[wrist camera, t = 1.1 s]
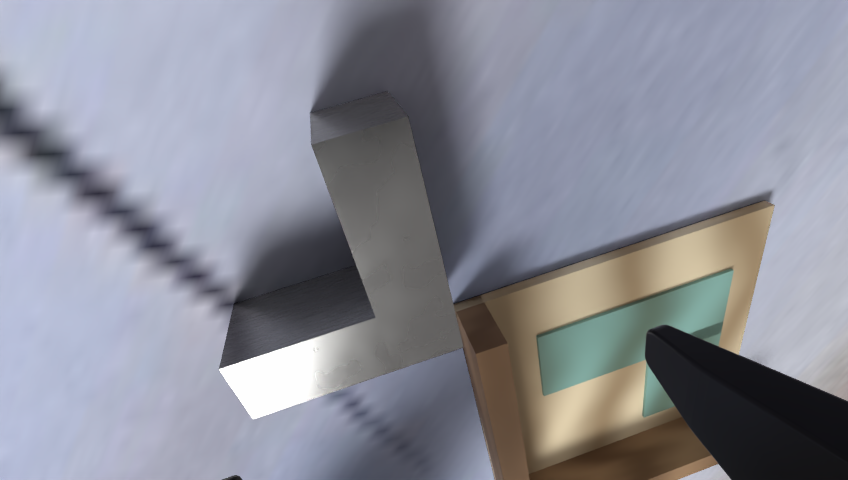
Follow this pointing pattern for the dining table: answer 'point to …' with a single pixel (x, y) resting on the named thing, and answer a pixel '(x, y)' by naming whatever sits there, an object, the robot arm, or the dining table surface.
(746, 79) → the dining table surface
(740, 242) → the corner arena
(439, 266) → the angle bracket
